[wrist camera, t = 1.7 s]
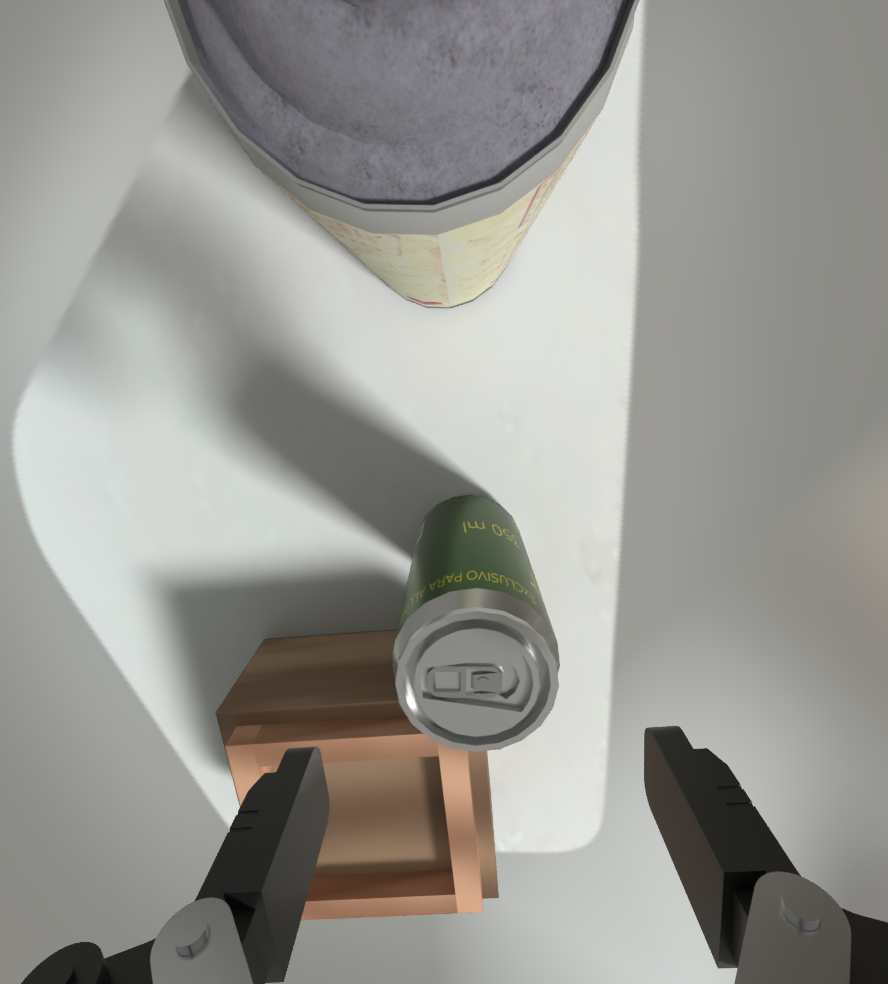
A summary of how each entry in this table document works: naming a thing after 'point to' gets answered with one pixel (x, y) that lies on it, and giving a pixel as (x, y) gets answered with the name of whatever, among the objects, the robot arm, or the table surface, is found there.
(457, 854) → the wooden crate
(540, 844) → the table surface
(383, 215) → the aerosol can
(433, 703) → the beer can
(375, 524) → the table surface
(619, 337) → the table surface
